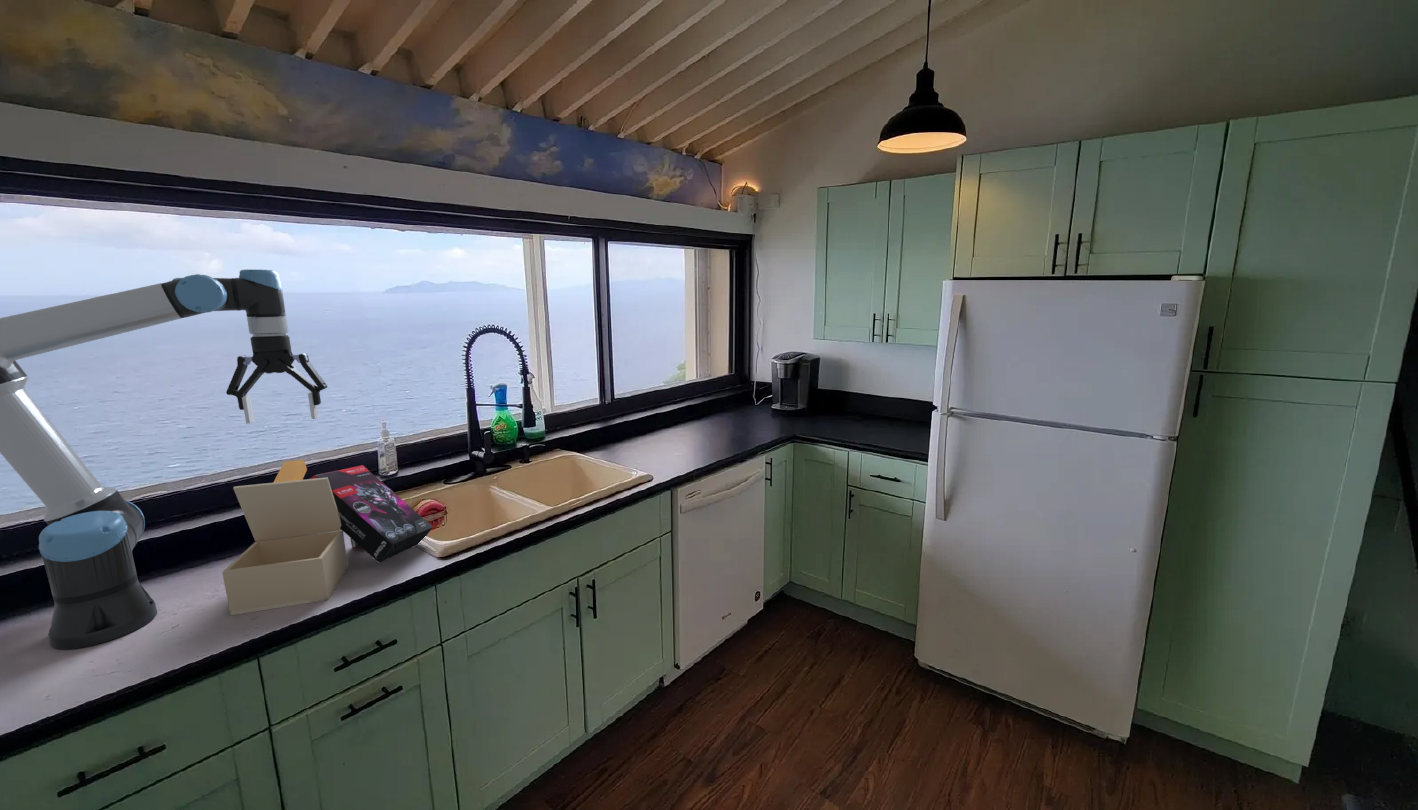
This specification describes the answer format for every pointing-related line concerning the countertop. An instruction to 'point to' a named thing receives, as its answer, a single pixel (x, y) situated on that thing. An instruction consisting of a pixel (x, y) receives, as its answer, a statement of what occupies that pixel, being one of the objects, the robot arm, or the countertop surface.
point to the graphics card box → (374, 513)
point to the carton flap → (289, 505)
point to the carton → (286, 572)
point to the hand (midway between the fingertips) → (283, 420)
